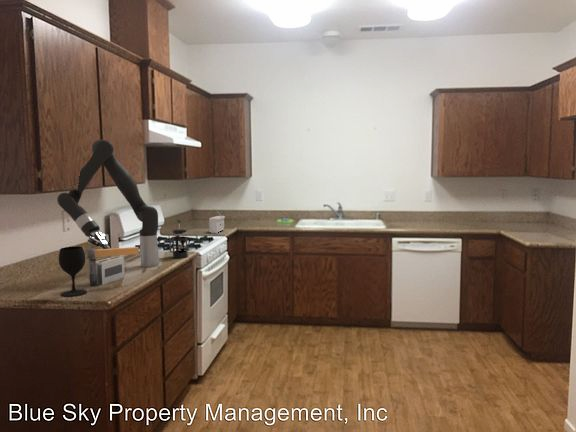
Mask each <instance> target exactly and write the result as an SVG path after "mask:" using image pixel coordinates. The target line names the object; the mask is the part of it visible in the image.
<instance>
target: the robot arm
mask: <svg viewBox="0 0 576 432" xmlns="http://www.w3.org/2000/svg"><path fill="white" fill-rule="evenodd" d="M91 151H92V155H91V157H89V160H88V161H86V163H85V165H83V167H82V168H81V169H80V170H81V171H80V170H79V171H80V176H79V183H78V184H79V185H78V190H71V191H70V190H69V192H62V193H59V194H58V195H57V198H56V199H57V204H58V205H59V206H60V208H61V209H63V211H64V212H66V213H67V214H68V215H69V216H70V218H71V219H72V221H74V223H75V224H76V226H77V227H78V228H79V229H80V231H81V232H82V233H83V234H84V236H85V237H88V239H87V242H88V243H90V244H92V245H94V246H96V247H98V248H99V247H100V248H101V249H112V248H111V247H110V245H109V242H110V239H109V234H108V233H103V232H102V231H101V230H100V225H99V224H98V223H97V222H96V221H95V219H94V218H93V217H92V216H91V215H90V214H88V212H87V211H86V209H84V208H83V207H82V206H81V205H79V204H80V203H79V202H80V200H81V198H82V195H83V192H84V191H85V189H86V188H87V187H88V185H89V183H90V182H91V181H92V179H93V177H94V175H96V173H97V172H98V170H99V169H100V168H101V167H102V166H103V167H104V168H105V170H106V171H107V173H108V175H109V176H110V178H111V179H112V181H113V182H114V184H115V186H116V187H117V189H118V190H119V192H120V193H121V195H122V196H123V197H124V199H125V200H126V201H127V203H128V204H129V206H130V208H131V209H132V211H133V212H134V215H135V216H136V218H137V219H138V221H140V222H142V223H141V226H142V227H141V229H140V230H139V249H140V250H139V254H140V257H139V258H140V266H141V267H143V268H152V267H156V266H159V264H160V262H159V261H160V259H159V257H160V256H159V248H158V229H159V212H158V210H157V208H155V207H154V206H148V204H146V202H145V201H144V199H143V198H142V197H141V194H140V192H139V187H138V184H137V183H136V181H135V179H134V178H133V176H132V175H131V173H130V172H129V171H128V170H127V169H126V168H125V167H124V166H123V164H121V163H120V162H119V160H118V159H117V158H116V155H115V154H114V151H115V150H114V145H113V144H112V142H110V141H109V140H105V139H97V140H95V141H94V142H93V143H92V145H91Z"/></svg>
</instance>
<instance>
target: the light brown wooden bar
mask: <svg viewBox="0 0 576 432" xmlns="http://www.w3.org/2000/svg"><path fill="white" fill-rule="evenodd" d="M139 249H140V247H139V246H132V247H129V246H128V247H118V248H117V247H115V248H111V249H103V248H100V249H99V248H98V249H97V248H88V249H86V256H87V257H86V259H88V260H89V259H94V258H95V259H97V258H102V257H103V258H104V257H120V256H129V255H130V256H131V255H133V256H134V255H139V254H140V250H139Z"/></svg>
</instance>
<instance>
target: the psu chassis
mask: <svg viewBox="0 0 576 432" xmlns="http://www.w3.org/2000/svg"><path fill="white" fill-rule="evenodd" d="M125 269H126V268H125V257H122V256H110V257H108V258H104V259H100V260H97V258H94V259H88V274H89V286H90V287H96V286H98V285H101V286H103V285H106V284H108V283H112V282H115V281H118V280H121V279H124V278H126V271H125Z"/></svg>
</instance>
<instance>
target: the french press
mask: <svg viewBox="0 0 576 432" xmlns="http://www.w3.org/2000/svg"><path fill="white" fill-rule="evenodd" d="M175 221H176V222H178V228H174V229H172V230H171V231H172V235H179V236H173V237H169V239H168V241H169V245H168V246H169V253H172V259H186V258H188V257H189V255H188V252H189V250H188V237H187V236H181V235H183V233H187V231H188V229H187V228H180V225H181V224H180V223H181V221H183V219H175Z"/></svg>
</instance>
